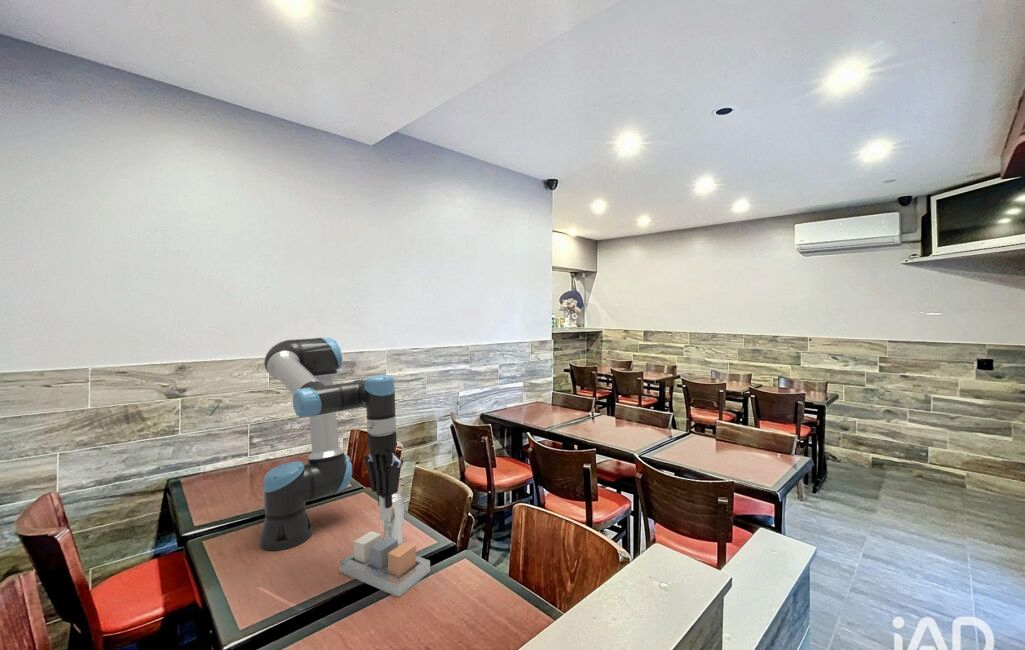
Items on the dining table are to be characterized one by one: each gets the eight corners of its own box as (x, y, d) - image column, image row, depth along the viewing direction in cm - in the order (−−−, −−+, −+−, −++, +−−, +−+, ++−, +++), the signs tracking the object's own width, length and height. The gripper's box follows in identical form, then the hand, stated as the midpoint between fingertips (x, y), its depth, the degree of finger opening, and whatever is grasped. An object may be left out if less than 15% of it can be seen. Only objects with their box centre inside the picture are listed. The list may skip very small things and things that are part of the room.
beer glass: (399, 551, 129) (397, 503, 129) (377, 549, 130) (376, 501, 130) (409, 539, 136) (407, 493, 135) (388, 538, 137) (387, 492, 137)
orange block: (388, 571, 113) (387, 553, 112) (405, 559, 118) (404, 542, 118) (399, 576, 111) (398, 557, 110) (416, 563, 116) (415, 545, 116)
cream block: (354, 558, 119) (353, 541, 119) (372, 547, 125) (371, 531, 124) (364, 562, 117) (363, 544, 117) (381, 551, 123) (381, 534, 122)
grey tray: (340, 575, 118) (340, 561, 118) (374, 553, 128) (374, 540, 128) (398, 600, 107) (397, 585, 107) (430, 574, 117) (429, 560, 117)
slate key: (371, 565, 116) (370, 547, 116) (388, 553, 121) (387, 536, 121) (381, 569, 114) (380, 551, 114) (398, 557, 119) (397, 540, 119)
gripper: (354, 433, 116) (358, 519, 116) (388, 438, 109) (392, 529, 110) (376, 427, 122) (379, 508, 123) (409, 431, 116) (413, 517, 116)
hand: (385, 518), depth 116 cm, fingers closed
